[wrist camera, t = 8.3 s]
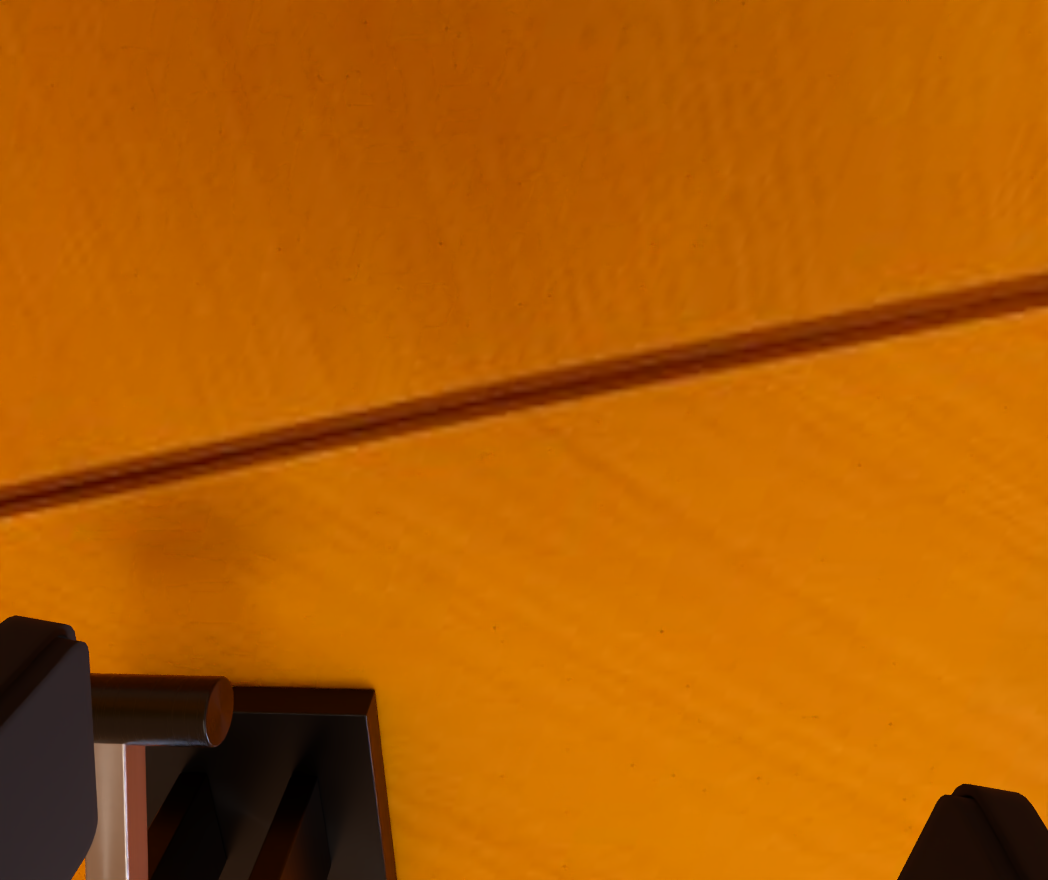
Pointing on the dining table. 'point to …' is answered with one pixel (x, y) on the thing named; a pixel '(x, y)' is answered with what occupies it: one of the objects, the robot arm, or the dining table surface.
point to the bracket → (275, 793)
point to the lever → (143, 754)
